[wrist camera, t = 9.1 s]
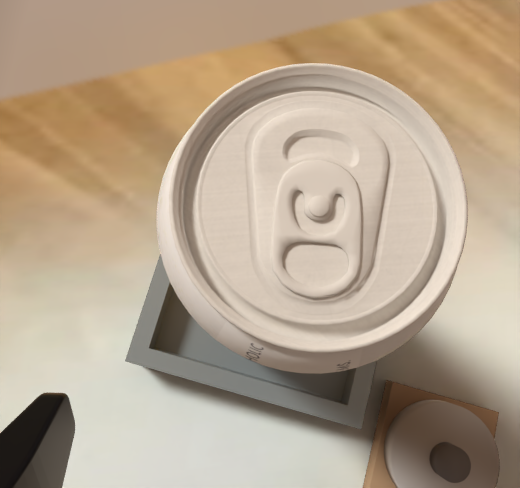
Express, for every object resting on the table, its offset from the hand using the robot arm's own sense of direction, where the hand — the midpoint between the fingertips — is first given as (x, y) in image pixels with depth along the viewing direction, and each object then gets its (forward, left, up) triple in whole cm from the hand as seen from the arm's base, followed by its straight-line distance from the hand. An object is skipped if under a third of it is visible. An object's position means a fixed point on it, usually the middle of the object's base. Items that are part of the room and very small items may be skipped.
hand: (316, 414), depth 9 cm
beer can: (+4, +1, -14) cm, 15 cm away
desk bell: (-2, -8, -15) cm, 17 cm away
